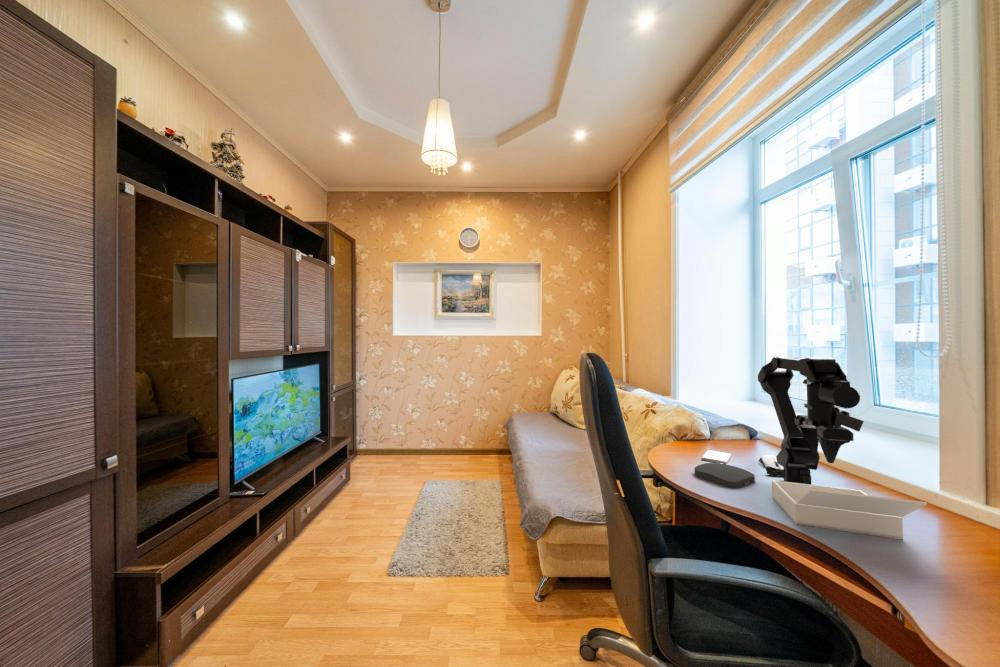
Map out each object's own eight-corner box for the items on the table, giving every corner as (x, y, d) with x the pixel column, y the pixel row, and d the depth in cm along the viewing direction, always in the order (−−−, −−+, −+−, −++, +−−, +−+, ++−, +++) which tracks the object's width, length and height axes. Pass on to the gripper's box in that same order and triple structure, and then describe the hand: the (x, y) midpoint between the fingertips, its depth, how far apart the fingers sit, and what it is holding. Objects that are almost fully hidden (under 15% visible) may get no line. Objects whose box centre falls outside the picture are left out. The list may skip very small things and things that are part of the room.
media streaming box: (689, 475, 121) (689, 466, 121) (715, 468, 128) (714, 459, 128) (734, 491, 108) (734, 481, 108) (759, 482, 115) (759, 472, 115)
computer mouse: (779, 462, 133) (779, 452, 133) (803, 480, 116) (803, 468, 116) (749, 460, 136) (748, 449, 136) (767, 477, 119) (767, 465, 119)
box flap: (796, 501, 88) (809, 488, 81) (901, 515, 81) (926, 502, 74) (796, 503, 88) (810, 490, 81) (902, 517, 81) (927, 504, 74)
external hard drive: (701, 461, 136) (707, 453, 145) (726, 466, 130) (731, 457, 140) (701, 457, 136) (707, 449, 145) (726, 461, 130) (731, 453, 140)
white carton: (772, 497, 103) (771, 480, 103) (861, 508, 96) (860, 490, 96) (795, 524, 88) (795, 503, 88) (903, 539, 81) (902, 517, 81)
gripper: (879, 409, 87) (881, 472, 87) (839, 398, 105) (840, 450, 104) (823, 407, 91) (824, 467, 91) (793, 396, 109) (794, 447, 108)
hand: (822, 457), depth 99 cm, fingers open, 9 cm apart
